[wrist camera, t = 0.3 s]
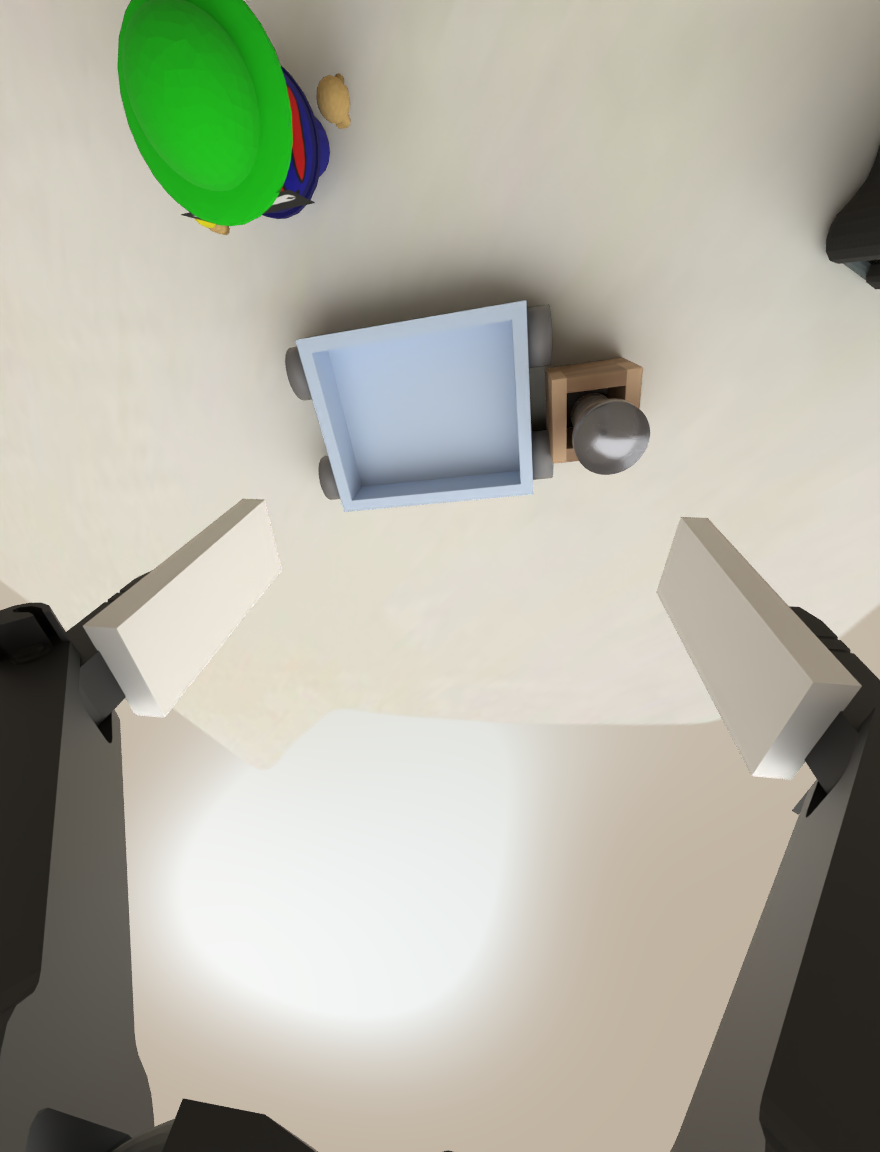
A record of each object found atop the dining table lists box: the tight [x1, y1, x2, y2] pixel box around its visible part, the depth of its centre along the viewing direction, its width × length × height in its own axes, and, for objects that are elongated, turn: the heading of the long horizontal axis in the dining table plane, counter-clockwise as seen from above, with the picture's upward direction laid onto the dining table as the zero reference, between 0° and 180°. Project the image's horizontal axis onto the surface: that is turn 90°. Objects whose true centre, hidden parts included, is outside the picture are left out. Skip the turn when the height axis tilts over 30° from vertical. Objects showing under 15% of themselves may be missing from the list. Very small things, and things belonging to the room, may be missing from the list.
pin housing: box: [545, 358, 643, 463], centre depth 34 cm, size 6×6×6 cm
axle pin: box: [571, 393, 650, 475], centre depth 30 cm, size 4×4×7 cm
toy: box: [118, 0, 351, 235], centre depth 24 cm, size 12×9×15 cm
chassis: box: [285, 300, 553, 512], centre depth 36 cm, size 14×20×4 cm
